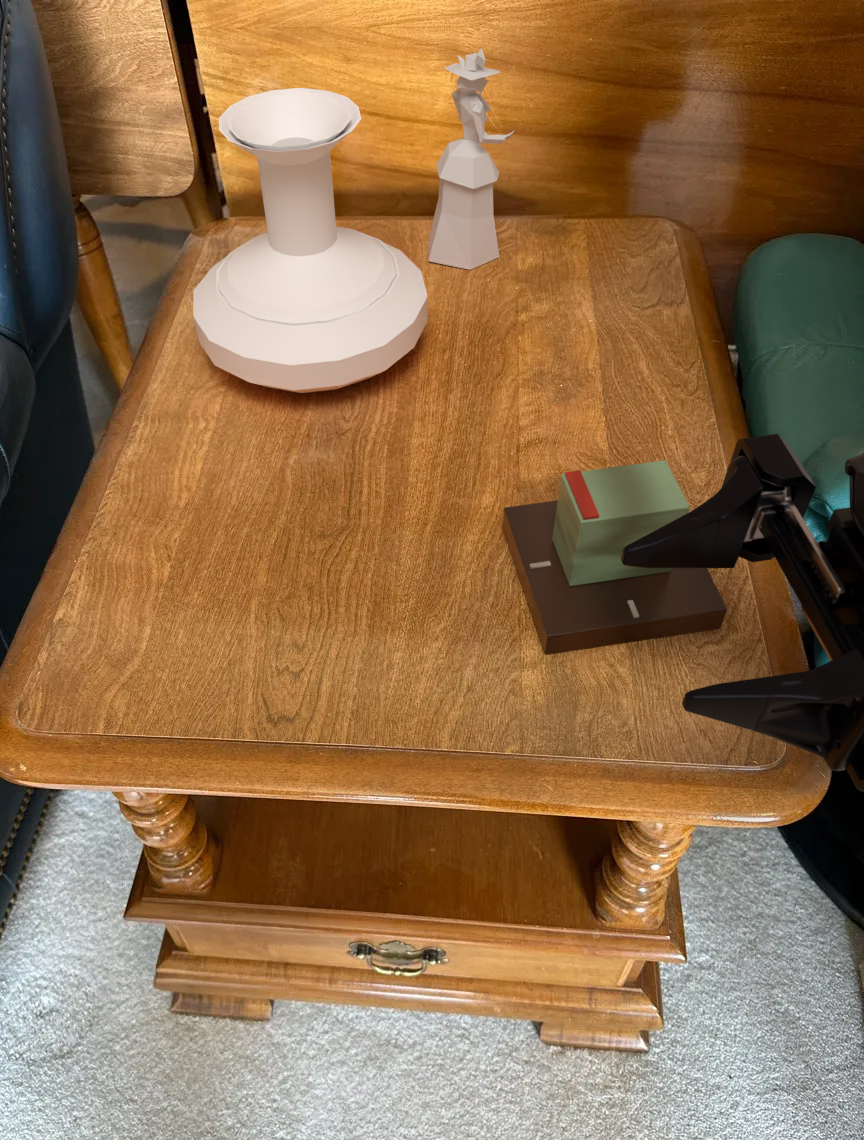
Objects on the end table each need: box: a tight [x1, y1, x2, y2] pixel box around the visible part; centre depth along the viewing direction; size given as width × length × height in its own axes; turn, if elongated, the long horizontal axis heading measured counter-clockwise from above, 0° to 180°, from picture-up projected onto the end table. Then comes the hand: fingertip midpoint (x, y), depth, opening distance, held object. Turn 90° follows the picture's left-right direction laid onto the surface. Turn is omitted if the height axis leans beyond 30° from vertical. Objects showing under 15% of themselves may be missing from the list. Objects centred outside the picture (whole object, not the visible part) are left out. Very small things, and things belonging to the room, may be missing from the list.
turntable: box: [501, 499, 728, 656], centre depth 66 cm, size 12×12×2 cm
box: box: [552, 459, 691, 586], centre depth 63 cm, size 7×4×6 cm, turn 99°
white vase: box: [192, 87, 429, 394], centre depth 77 cm, size 20×20×19 cm
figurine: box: [427, 47, 516, 270], centre depth 86 cm, size 7×8×18 cm
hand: (651, 624), depth 46 cm, fingers open, 9 cm apart
